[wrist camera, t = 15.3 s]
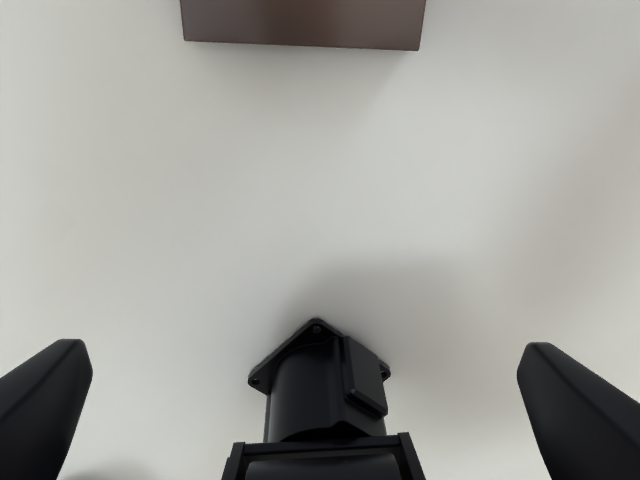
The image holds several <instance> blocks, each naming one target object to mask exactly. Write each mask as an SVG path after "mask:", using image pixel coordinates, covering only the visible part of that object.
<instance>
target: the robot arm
mask: <svg viewBox="0 0 640 480" xmlns="http://www.w3.org/2000/svg"><path fill="white" fill-rule="evenodd" d="M315 326H318V327H319V328H313V327H315ZM390 375H391V373H390V368H389V366H388V365H387V364H385V363H384V362H382V361H381V360H379V359H378V358H377V356H376V355H375V354H374V353H372V352H371V351H369V350H368V349H366V348H365V347H364V346H362V345H361V344H359V343H358V342H356V341H355V340H353V339H352V338H351V337H349V336H345V335H343V334H342V333H340V332H339V331H337V330H336V329H334V328H333V327H332V326H330V325H329V324H327V323H326V322H324V321H323V320H321V319H318V318H315V319H312V320H310V321H309V322H308V323H306V324H305V325H304V326H303V327H302V328H301V329H300V330H298V331H297V332H296V333H295V334H294V335H293V336H292V337H291V338H289V339H288V340H287V341H286V342H285V343H284V344H283V345H281V346H280V347H279V348H278V349H277V350H276V351H275V352H274V353H272V354H271V355H270V356H269V357H268V358H267V359H266V360H264V361H263V362H262V363H261V364H260V365H259V366H258V367H257V368H255V369H254V370H253V371H252V372H251V373H250V374H249V376H248V384H249V385H250V386H251V387H253V388H255V389H256V390H258V391H260V392H262V393H263V394H265V395H267V404H266V415H265V427H264V439H263V443H252V444H245V442H236V443H234V444H233V448H232V451H231V455H230V457H228V458H227V461H226V465H225V468H224V472H223V475H222V479H221V480H426V478H425V476H424V473H423V470H422V467H421V465H420V462H419V459H418V456H417V454H416V451H415V448H414V446H413V443H412V440H411V437H410V435H409V432H403V433H398V434H397V435H387V433H386V428H385V423H384V417H385V416H386V415H387V414H388V406H387V401H386V397H385V392H384V387H383V382H384V381H385V380H387V379H388V378H389V377H390ZM92 376H93V370H92V365H91V362H90V359H89V355H88V352H87V349H86V345H85V343H84V342H83V341H82V340H80V339H60V340H58V341H56V342H54V343H53V344H51V345H50V346H48V347H47V348H45V349H44V350H42V351H41V352H39V353H38V354H36V355H35V356H33V357H31V358H30V359H28V360H27V361H25V362H24V363H22V364H21V365H19V366H18V367H16V368H15V369H13V370H12V371H10V372H9V373H7V374H6V375H4V376H3V377H1V378H0V480H56V479H57V477H58V474H59V472H60V470H61V468H62V465H63V463H64V461H65V458H66V456H67V453H68V451H69V448H70V445H71V442H72V439H73V436H74V433H75V430H76V427H77V424H78V421H79V418H80V415H81V412H82V409H83V406H84V403H85V399H86V396H87V393H88V390H89V387H90V384H91V381H92ZM255 379H258V380H255ZM517 382H518V385H519V388H520V391H521V395H522V398H523V401H524V404H525V407H526V410H527V413H528V416H529V420H530V423H531V426H532V429H533V432H534V435H535V438H536V441H537V444H538V447H539V450H540V453H541V455H542V458H543V460H544V463H545V465H546V467H547V470H548V472H549V474H550V476H551V479H552V480H640V403H638V402H637V401H635V400H634V399H632V398H631V397H629V396H628V395H626V394H625V393H623V392H622V391H620V390H619V389H617V388H616V387H614V386H613V385H612V384H610V383H609V382H607V381H606V380H604V379H603V378H601V377H600V376H598V375H597V374H595V373H594V372H592V371H591V370H589V369H588V368H586V367H585V366H583V365H582V364H580V363H579V362H578V361H576V360H575V359H573V358H572V357H570V356H569V355H567V354H566V353H564V352H563V351H561V350H560V349H558V348H557V347H555V346H554V345H552V344H550V343H547V342H531V343H529V344H528V345H527V346H526V348H525V350H524V353H523V356H522V358H521V361H520V364H519V366H518V369H517Z"/></svg>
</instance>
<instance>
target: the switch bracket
mask: <svg viewBox="0 0 640 480" xmlns="http://www.w3.org/2000/svg"><path fill="white" fill-rule="evenodd" d="M425 4H426V0H180V7H181V16H182V26H183V36H184V40H185V41H195V42H218V43H241V44H265V45H288V46H311V47H334V48H357V49H380V50H404V51H418V50H419V46H420V39H421V32H422V25H423V18H424V11H425Z"/></svg>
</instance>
